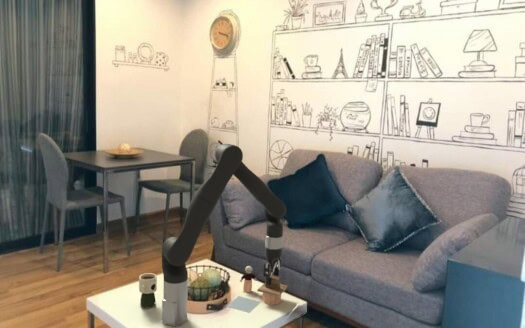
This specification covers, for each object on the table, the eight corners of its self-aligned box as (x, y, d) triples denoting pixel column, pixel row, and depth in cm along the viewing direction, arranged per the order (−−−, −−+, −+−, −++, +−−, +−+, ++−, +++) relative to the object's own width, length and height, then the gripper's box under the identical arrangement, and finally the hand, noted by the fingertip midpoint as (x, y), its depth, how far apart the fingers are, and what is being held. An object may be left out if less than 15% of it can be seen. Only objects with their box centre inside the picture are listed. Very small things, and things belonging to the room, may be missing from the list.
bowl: (276, 307, 185) (276, 294, 185) (259, 303, 189) (259, 290, 188) (283, 299, 193) (284, 287, 192) (267, 295, 196) (267, 283, 195)
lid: (278, 296, 183) (279, 283, 182) (257, 291, 187) (257, 278, 186) (287, 287, 192) (288, 275, 191) (267, 282, 196) (267, 270, 195)
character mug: (151, 312, 177) (151, 282, 175) (135, 311, 178) (134, 281, 176) (160, 300, 188) (160, 271, 186) (144, 299, 189) (144, 270, 187)
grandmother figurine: (241, 295, 196) (242, 268, 194) (238, 291, 199) (239, 265, 197) (257, 292, 199) (258, 266, 196) (254, 289, 202) (255, 263, 200)
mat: (249, 314, 179) (249, 312, 179) (226, 307, 184) (226, 306, 184) (260, 303, 189) (260, 301, 189) (238, 297, 194) (238, 295, 194)
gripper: (272, 239, 195) (271, 273, 197) (258, 248, 182) (257, 285, 184) (288, 242, 192) (286, 277, 194) (275, 252, 179) (273, 289, 181)
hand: (272, 281), depth 189 cm, fingers open, 8 cm apart
